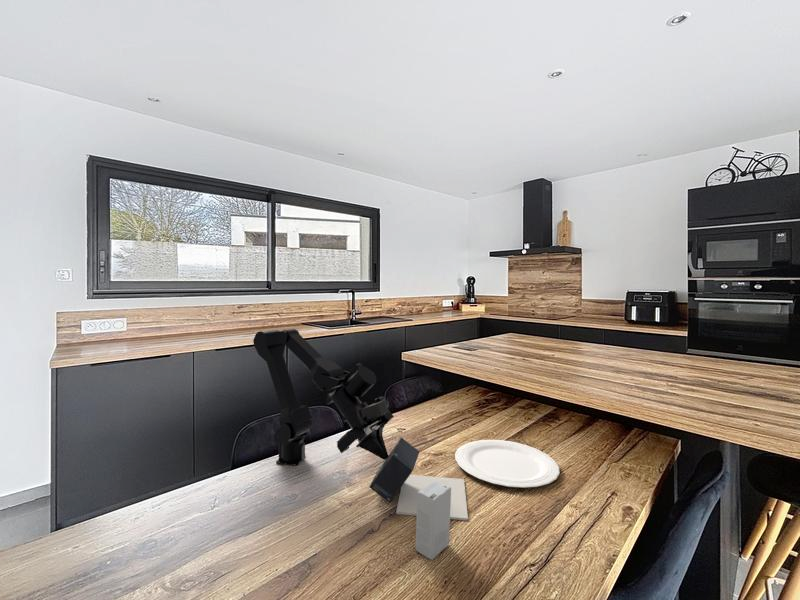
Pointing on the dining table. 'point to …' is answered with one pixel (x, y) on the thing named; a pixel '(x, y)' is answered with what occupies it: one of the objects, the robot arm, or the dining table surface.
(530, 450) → the plate
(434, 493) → the skincare box
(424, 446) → the dining table surface
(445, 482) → the mat
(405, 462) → the small box
